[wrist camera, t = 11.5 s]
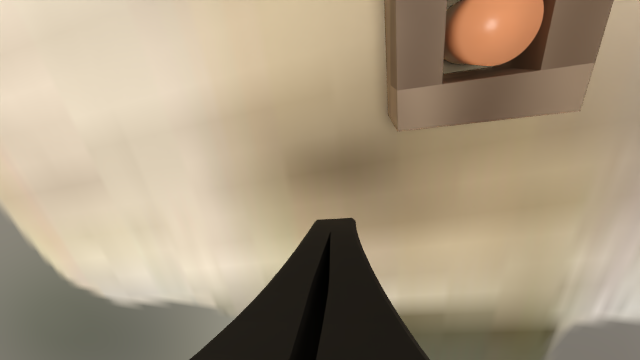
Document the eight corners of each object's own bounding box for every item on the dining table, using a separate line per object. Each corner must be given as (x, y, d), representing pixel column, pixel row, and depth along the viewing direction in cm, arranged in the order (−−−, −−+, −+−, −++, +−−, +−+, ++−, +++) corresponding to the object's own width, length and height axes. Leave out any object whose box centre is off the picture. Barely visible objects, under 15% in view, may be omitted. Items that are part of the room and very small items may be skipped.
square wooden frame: (562, -84, 11) (657, -146, 8) (525, 97, 15) (580, 111, 11) (383, -42, 13) (394, -79, 9) (388, 114, 16) (397, 131, 13)
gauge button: (501, -9, 12) (552, -31, 9) (492, 58, 13) (534, 59, 10) (436, 4, 13) (463, -13, 10) (433, 67, 14) (456, 71, 11)
